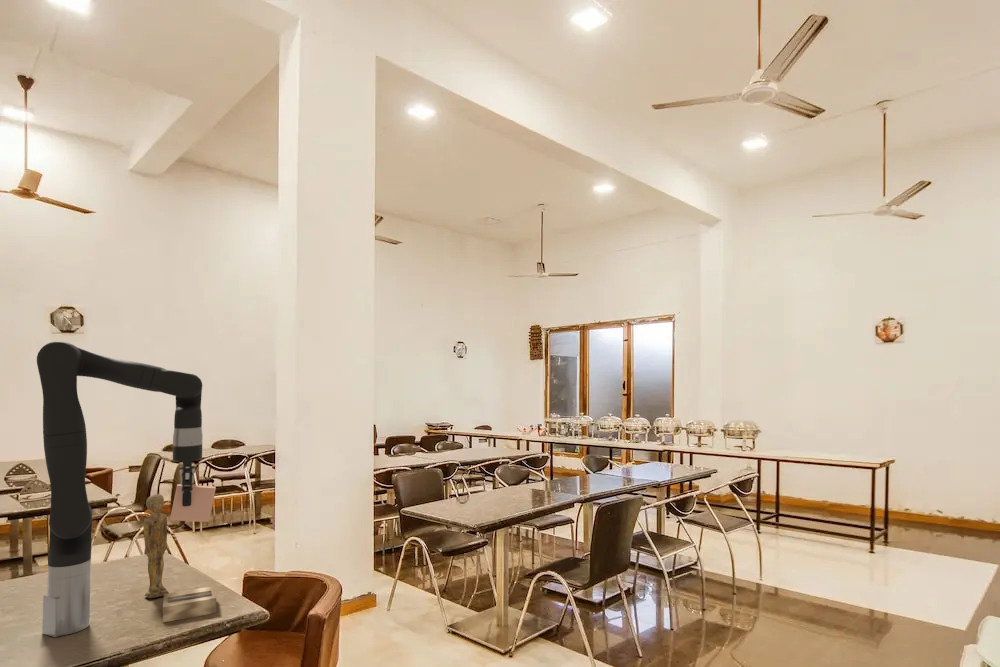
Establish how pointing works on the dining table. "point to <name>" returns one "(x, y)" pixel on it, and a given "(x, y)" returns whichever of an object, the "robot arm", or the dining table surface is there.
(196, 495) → the pink square prism
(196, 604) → the dispenser
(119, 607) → the dining table surface
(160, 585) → the sculpture
